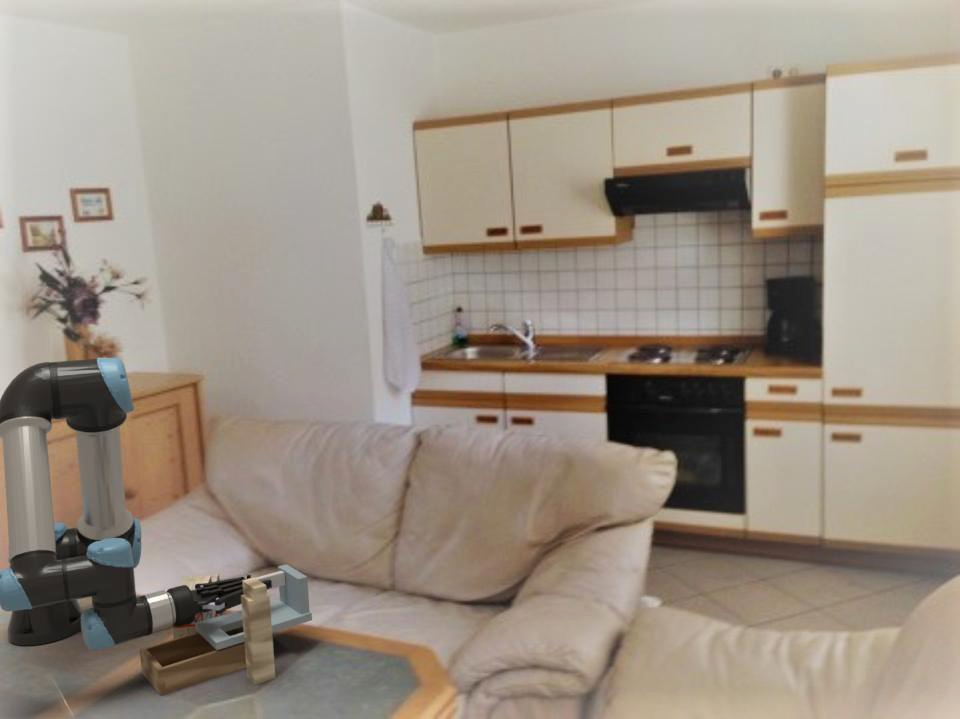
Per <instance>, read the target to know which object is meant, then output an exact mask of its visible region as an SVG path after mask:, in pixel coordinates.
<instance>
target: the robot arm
mask: <svg viewBox="0 0 960 719" xmlns="http://www.w3.org/2000/svg"><path fill="white" fill-rule="evenodd" d="M132 397H133V396H132V393H131V389H130V384H129V380H128V375H127V370H126V367H125V363H124V362H123V360H121V359H120V358H118V357H97V358H89V359H76V360H73V359H72V360H64V361H51V362H50V361H44V362H39V363H36V364H33V365H30V366H28V367H26V368H25V369H24V370H22V371H21V372H19V373H18V374H17V375H16V376H15V377H14V378H13V379H12V380H11V381H10V383H9V384H8V385H7V387H6V388H5V389H4V391H3V393H2V395H1V397H0V438H1V439H2V450H3V452H2V453H3V466H4V481H5V482H4V483H5V484H4V485H5V486H4V487H5V500H6V514H7V515H6V516H7V533H8V534H7V535H8V563H9V567H7V568H5V569H2V570H0V608H1V610H2V611H4V612H11V615H10V618H9V622H8V623H9V624H8V627H7V635H8V636H7V637H8V641H9V643H10V644H13V645H18V646H39V645H44V644H45V645H46V644H48V643H54V642H57V641H60V640H63V639H66V638H68V637H70V636H72V635H74V634H76V633H77V632H79V631H80V630H81V634H82V635H81V636H82V638H83V643H84V645H85V646H86V647H87V649H89V650H91V651H97V650H100V649H102V650H103V649H105V648H110V647H116V646H117V645H122V644H123V643H128V642H130V641H131V642H132V641H135V640H137V639H140V638H144V637H148V636H151V635H154V636H158V635H159V634H160V633H161V632H165V631H169V630H171V629H173V626H174V627H176V628H177V627H180V626H184V625H187V624H190V623H192V622H193V621H194V619H195V616H196V614H197V613H201V612H209V611H211V610H212V609H213V610H215V612H216V614H221V613H222V614H223V612H225V611H227V610H230V609H231V608H234V607H237V606H240V605H242V604H241V595H244V593H243V583H242V580H246V579H250V578H252V577H251V576H252V575H251V574H246V578H245V576H239V577H238V576H237V577H234V578H228V579H222V580H220V581H216V582H211V583H202V584H195V590H190V588H189V587H188V586H186V585H182V586H179V585H178V586H174V587H171V588H168V589H167V591H166V590H164V589H162V590H158V591H155V592H150V593H148V594H143V595H141V596H137V592H136V591H137V590H136V581H135V579H136V578H135V569H136V568H137V567H138V566H139V564H140V561H141V556H142V555H141V554H142V526H141V522H140V520H139V518H136V517H134V515H133V514H132V512H131V511H130V510H129V509H127V508H126V498H125V497H126V495H125V485H124V484H125V482H124V481H125V480H124V470H123V469H124V468H123V467H124V466H123V455H122V454H123V453H122V452H123V451H122V441H121V440H122V439H121V427H122V426H123V425H124V424H125V423H126V421H127V418H128V417H127V416H128V413H131V412H133V411H134V410H135V409H134V402H133V398H132ZM53 420H65V422H66V425H67V427H68V428H69V429H70V430H72V431H73V432H75V441H76V450H77V451H76V452H77V461H78V462H77V463H78V470H79V471H78V473H79V481H80V493H81V502H82V504H81V505H82V512H83V515H81V517H80V518H79V519H78V520H77V525H76V527H73V528H68V526H67V525H66V524H65V523H64V522H61V521H60V522H59V521H58V522H55V521H54V520H55V519H54V508H53V506H54V505H53V494H52V493H53V492H52V484H51V483H52V481H51V470H50V459H49V458H50V457H49V448H48V446H49V445H48V444H49V443H48V435H47V434H49V433H50V432H51V430H52V428H53V423H52V421H53ZM255 578H256V579H258V580H259V581H261V582H262V583H264V584H265V585H266V589H267V591H268V590H271V589H272V590H273V589H275V588H279V587H280V586H283V585H285V572H283V571H278V570H277V571H275V572H272V573H267V574H264V575H260V576H257V577H255ZM85 598H91V603H92V607H91V608H88V609H87V610H84V611H83V609H82V608H81V606H80V603H79V602H78V600H82V599H85ZM222 614H221V615H222Z"/></svg>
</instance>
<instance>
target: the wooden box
mask: <svg viewBox="0 0 960 719" xmlns="http://www.w3.org/2000/svg"><path fill="white" fill-rule="evenodd" d="M242 632H244V630H243V627H240V628H237V629H233V630H230V631H227V632H225V633H226V634H227V635H229V636H233V635H236V634H239V633H242ZM139 657H140V667H141V673H142V674H143V676H144V677H145V678H146V680H147V681H148V682H149V683H150V685H152V687H153V688H154V690H156V692H157V693H158V694H159V696H161V697H162V696H164V695H167V694H171V693H173V692H176V691H179V690H183V689H185V688H189V687H191V686H194V685H197V684H201V683H203V682H207V681H209V680H213V679H215V678H218V677H221V676H224V675H227V674H230V673H232V672H233V673H234V672H236V671H239V670H242V669H245V668H246V656H245V643H244V642H242V643H238V644H235V645H232V646H229V647H226V648H223V649H219V650H216V649H215V648H214V647H213V646H212V645H211V644H210V643H209V642H208V641H206V640H205V639H204V638H203V637H202V636H201V635H200V634H199V633H198V632H195V633H191V634H188V635H185V636H181V637H178V638H175V639H174V638H172V639H169V640H164V641H162V642H159V643H156V644H151V645H148V646H144V647H142V648H139Z"/></svg>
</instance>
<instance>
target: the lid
mask: <svg viewBox="0 0 960 719" xmlns="http://www.w3.org/2000/svg"><path fill="white" fill-rule="evenodd" d="M278 571H283V572H285V585H283V586H280V587H278V589H279V590H278V591H279V598H277V599H274V600H273V599H272V600H270V610H271V623H272V634H273V633H276V632H279V631H283V630H285V629H289V628H291V627H295V626H298V625H301V624H304V623H307V622H310V621H313V613H312V612H311V611H310V598H309V584H308V576H306V575H305V574H303V573H302V572H300V571H298V570H297V569H295V568H293V567H292V566H290V565H288V564H286V563H285V564H282V565H279V566H277V572H278ZM240 627H243V617H242V609H239V610H236V611H233V612H232V611H231V612H229V613H228V612H227V613H226V614H221V616H218V617H215V618H211V619H208V620H204V621H201V622H197V623H195V630H196V631H197V632H198V633H199V634H200V635H201V636H202V637H203V638H204V639H205V640H206V641H208V642H209V643H210V644H211V645H212V646H213V647H214V648H215V649H216V650H219V649H223V648H226V647H229V646H232V645H235V644H238V643H242V642H244V632H242V633H239V634H236V635H233V636H229V635H227V634H226V633H225V632H227V631H230V630H233V629H237V628H240Z"/></svg>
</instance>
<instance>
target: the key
mask: <svg viewBox="0 0 960 719" xmlns="http://www.w3.org/2000/svg"><path fill="white" fill-rule="evenodd" d="M245 579H246V580H242V583H243V593H244V595H241V604H240V605H241V610H242V617H243V630H244V643H245V656H246V667H245V668H246V669H245V670H246V678H248V679H249V681H251V682H252V683H253V684H254V685H259V684H261V683H264V682H267V681H270V680H273V679H276V668H275V667H276V666H275V654H274V653H275V652H274V640H273V639H274V638H273V633H272V623H271V610H270V601H271V597H270V595H269V594H268V592H267V591H268V590H267V589H266V585H265V584H264V583H262V582H261V581H259V580H258V579H256V577H251V578H250V579H247V578H245Z"/></svg>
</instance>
